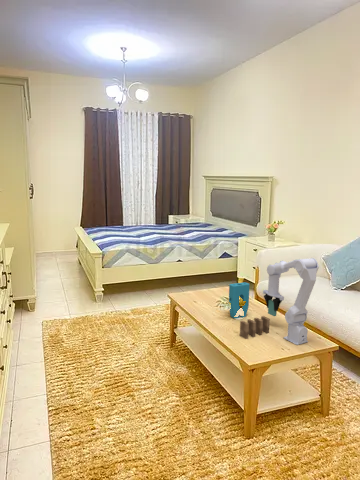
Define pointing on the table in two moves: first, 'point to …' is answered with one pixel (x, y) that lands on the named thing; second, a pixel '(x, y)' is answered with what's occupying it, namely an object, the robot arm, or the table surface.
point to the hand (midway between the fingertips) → (272, 309)
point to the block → (234, 294)
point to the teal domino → (271, 308)
